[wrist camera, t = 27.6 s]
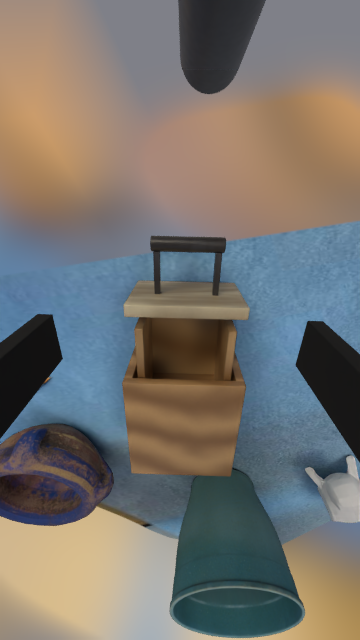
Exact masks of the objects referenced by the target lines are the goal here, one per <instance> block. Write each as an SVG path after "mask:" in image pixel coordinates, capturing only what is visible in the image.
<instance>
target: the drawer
mask: <svg viewBox="0 0 360 640" xmlns="http://www.w3.org/2000/svg"><path fill="white" fill-rule="evenodd" d="M150 245H151V251H154V252H153V256H154V281H138V282H137V284H136V285H135V287H134V289H133V290H132V292H131V294H130V295H129V297H128V299H127V300H126V302H125V304H124V316H125V317H139V319H138V322H137V324H136V327H135V329H134V330H135V345H136V359H137V373H138V378H147V379H181V380H215V381H230V380H231V372H232V365H233V358H234V350H235V343H236V336H237V331H236V328H235V326H234V323H233V321H232V320H248V317H249V310H250V308H249V307H248V305H247V303H246V302H245V300H244V298H243V297H242V295H241V293H240V292H239V290H238V288H237V286H236V285H235V283H220V272H221V261H222V253H224V252H225V248H226V239H225V238H221V237H219V238H218V237H177V236H175V237H174V236H173V237H172V236H151V241H150ZM160 251H163V252H206V253H215V264H214V276H213V282H178V281H161V277H160Z"/></svg>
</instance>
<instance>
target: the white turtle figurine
mask: <svg viewBox="0 0 360 640" xmlns="http://www.w3.org/2000/svg"><path fill="white" fill-rule="evenodd" d="M346 463H347V465H348V469H347V472H346V473H334V474H330V475H329V476H327V477H326V478H325V479H322V478H321V477H320V476H318V475H317V474H316V473H315V471H314V469H313V468H311V467H308V468H305V471H306V473H307V474H308V475H309V476H310V477H311V478H312V480H313V481H314V482H315V483H316V484H317V486H318V488H317V489H318V491H319V493H320V496H321V497H322V500H323V502H324V504H325V506H326V508H327V510H328V513H329V515H330V518H331V520H332V521H339V522H346V523H356V522H360V479H359V478H358V472H357V467H356V462H355V458H354V457H353V456H352V455H350V456H347V458H346Z"/></svg>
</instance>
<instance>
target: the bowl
mask: <svg viewBox="0 0 360 640" xmlns="http://www.w3.org/2000/svg"><path fill="white" fill-rule="evenodd" d="M113 484H114V477H113V473H112V470H111V469H110V467H109V466H108V464H107V463H106V462H105V460H104V459H103V457H102V456H101V454H100V452H99V451H98V450H97V449H96V448H95V447H94V445H93V444H92V443H91V442H90V440H89V439H88V438H87V437H86V436H85V435H83V434H82V433H81V432H80V431H78V430H76V429H74V428H73V427H70V426H68V425H65V424H44V425H38V426H33V427H30V428H27V429H24V430H22V431H20V432H18V433H16V434H14V435H12V436H11V437H9V438H8V439H6V440H5V441H4V442H3V443H2V444H0V516H1V517H4V518H7V519H9V520H12V521H17V522H21V523H25V524H33V525H44V526H57V525H63V524H67V523H71V522H75V521H78V520H80V519H82V518H84V517H86V516H88V515H89V514H90V513H91V512H92V511H93V510H94V509H95V508H96V506H97V505H98V504H99V503H100V502H101V501H102V500H103V499H105V498H106V497H107V496H108V495H109V493H110V492H111V490H112V487H113Z"/></svg>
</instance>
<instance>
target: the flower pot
mask: <svg viewBox="0 0 360 640" xmlns="http://www.w3.org/2000/svg"><path fill="white" fill-rule="evenodd" d="M170 615H171V617H172V619H173V620H174V621H175V622H177V623H178V624H179V625H181V626H183V627H184V628H187V629H189V630H192V631H195V632H198V633H202V634H206V635H211V636H218V637H228V638H252V637H262V636H268V635H273V634H277V633H281V632H284V631H286V630H289V629H291V628H292V627H295V626H296V625H298V624H299V623H300V622H301V621H302V620H303V618H304V616H305V609H304V606H303V603H302V601H301V600H300V599H299V596H298V593H297V589H296V586H295V583H294V580H293V577H292V575H291V573H290V570H289V567H288V563H287V560H286V557H285V554H284V551H283V548H282V546H281V543H280V540H279V537H278V535H277V532H276V530H275V528H274V526H273V524H272V522H271V520H270V518H269V516H268V514H267V512H266V511H265V509H264V507H263V506H262V504H261V502H260V500H259V498H258V496H257V495H256V493H255V490H254V486H253V483H252V481H251V480H250V478H249V477H248V476H247V475H245V474H243V473H242V472H239V471H237V470H233V469H232V471H231V476H230V477H229V476H200V475H198V476H197V477H196V478H195V479H194V481H193V483H192V486H191V495H190V499H189V503H188V506H187V509H186V512H185V515H184V518H183V522H182V526H181V530H180V535H179V542H178V548H177V557H176V568H175V577H174V584H173V594H172V601H171V603H170Z"/></svg>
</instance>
